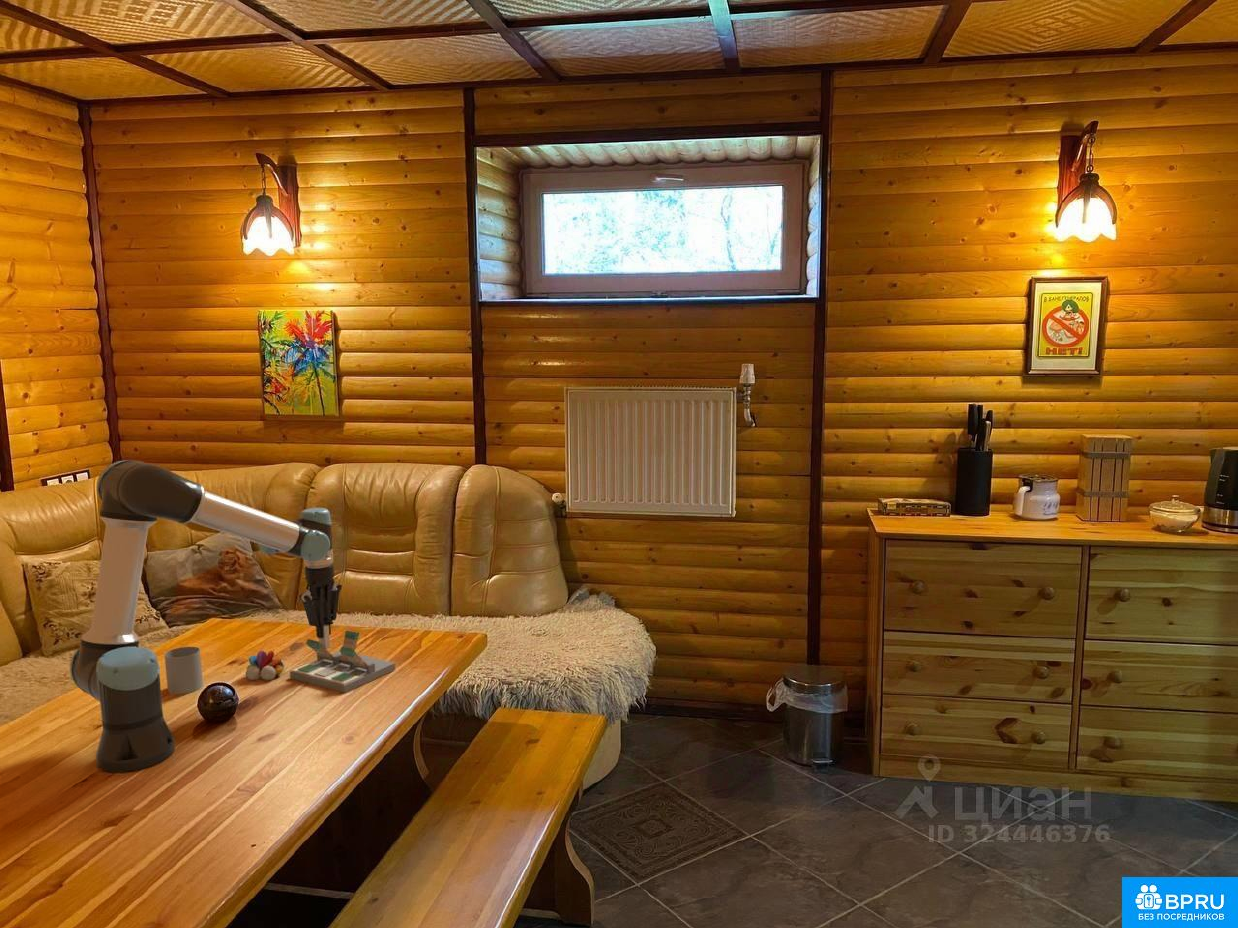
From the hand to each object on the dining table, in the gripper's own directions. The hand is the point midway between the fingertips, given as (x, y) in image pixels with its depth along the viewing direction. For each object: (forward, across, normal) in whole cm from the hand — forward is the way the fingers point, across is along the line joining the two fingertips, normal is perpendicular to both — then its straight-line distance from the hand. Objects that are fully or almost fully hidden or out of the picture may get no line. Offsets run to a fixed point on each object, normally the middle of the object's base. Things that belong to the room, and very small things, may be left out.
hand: (324, 647), depth 241 cm
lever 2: (+3, +1, -6) cm, 7 cm away
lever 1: (+3, +1, 0) cm, 4 cm away
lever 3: (+3, +1, -13) cm, 13 cm away
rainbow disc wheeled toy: (+7, -11, +11) cm, 17 cm away
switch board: (+6, 0, -6) cm, 9 cm away
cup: (+7, -27, +23) cm, 36 cm away
